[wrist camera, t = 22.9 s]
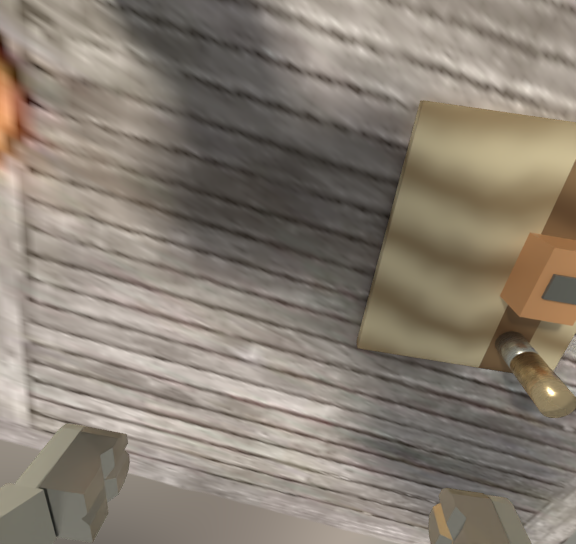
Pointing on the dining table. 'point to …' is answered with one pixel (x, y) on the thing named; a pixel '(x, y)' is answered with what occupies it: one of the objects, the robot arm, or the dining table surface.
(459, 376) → the dining table surface
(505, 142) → the panel
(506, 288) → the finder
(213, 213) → the dining table surface
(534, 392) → the amber glass vial
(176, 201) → the dining table surface
